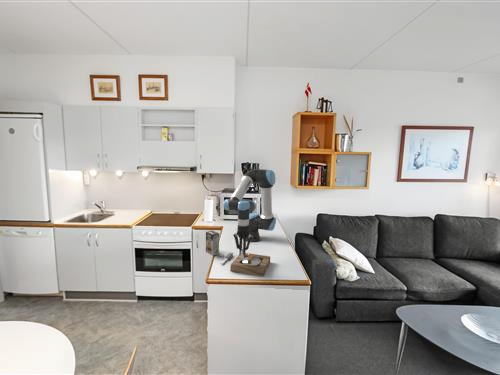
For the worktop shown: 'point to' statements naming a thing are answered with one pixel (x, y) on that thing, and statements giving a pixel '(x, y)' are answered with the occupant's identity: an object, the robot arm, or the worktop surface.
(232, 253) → the screwdriver
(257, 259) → the dial
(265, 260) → the housing
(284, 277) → the worktop surface
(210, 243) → the coffee box
